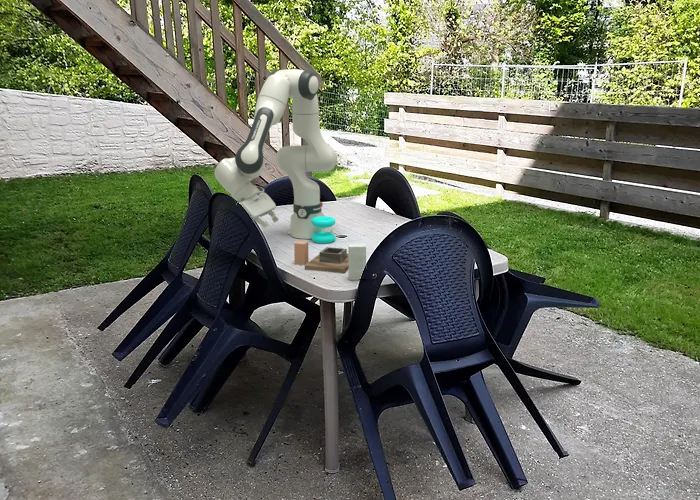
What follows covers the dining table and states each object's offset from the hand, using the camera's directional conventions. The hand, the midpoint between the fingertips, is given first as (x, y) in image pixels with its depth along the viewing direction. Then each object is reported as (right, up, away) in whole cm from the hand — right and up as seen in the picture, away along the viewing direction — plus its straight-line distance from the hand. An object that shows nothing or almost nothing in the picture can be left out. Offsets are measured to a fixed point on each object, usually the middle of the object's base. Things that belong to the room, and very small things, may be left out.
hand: (271, 223), depth 238 cm
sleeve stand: (+23, -15, 0) cm, 27 cm away
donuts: (+18, -6, +32) cm, 37 cm away
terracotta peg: (+11, -15, +1) cm, 18 cm away
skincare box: (+32, -20, -17) cm, 41 cm away
